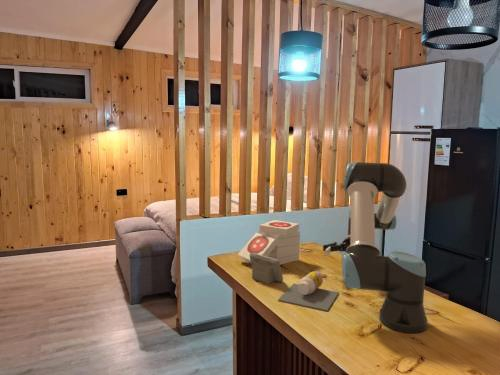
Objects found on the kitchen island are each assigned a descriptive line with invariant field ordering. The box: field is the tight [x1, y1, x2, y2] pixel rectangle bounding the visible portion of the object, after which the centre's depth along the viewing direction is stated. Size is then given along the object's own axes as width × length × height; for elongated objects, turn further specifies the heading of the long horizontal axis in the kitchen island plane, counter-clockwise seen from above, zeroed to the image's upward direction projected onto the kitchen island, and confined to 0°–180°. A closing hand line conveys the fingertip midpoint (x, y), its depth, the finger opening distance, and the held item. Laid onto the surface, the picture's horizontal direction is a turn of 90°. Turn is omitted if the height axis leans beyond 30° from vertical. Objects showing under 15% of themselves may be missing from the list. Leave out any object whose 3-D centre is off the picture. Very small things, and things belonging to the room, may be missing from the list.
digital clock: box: [250, 253, 284, 285], centre depth 164 cm, size 16×9×11 cm, turn 38°
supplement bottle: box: [298, 270, 324, 295], centre depth 150 cm, size 7×7×13 cm
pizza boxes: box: [237, 219, 301, 265], centre depth 188 cm, size 19×30×18 cm, turn 127°
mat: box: [277, 283, 340, 312], centre depth 146 cm, size 18×19×1 cm
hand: (341, 255), depth 160 cm, fingers open, 13 cm apart
